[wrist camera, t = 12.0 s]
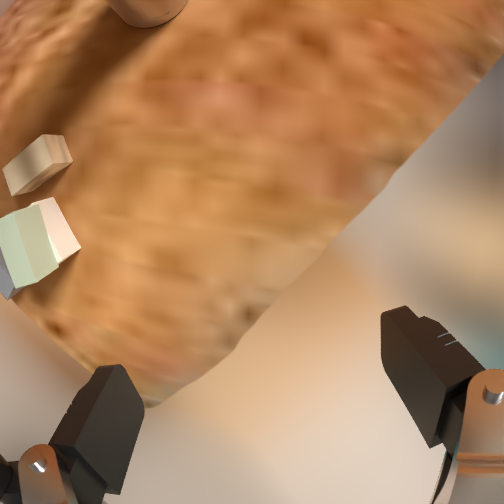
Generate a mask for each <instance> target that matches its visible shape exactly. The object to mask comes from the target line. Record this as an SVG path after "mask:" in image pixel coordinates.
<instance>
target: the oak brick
mask: <svg viewBox="0 0 504 504" xmlns="http://www.w3.org/2000/svg"><path fill="white" fill-rule="evenodd" d="M72 162H73V161H72V158H71V156H70V153H69V150H68V148H67V145H66V142H65V139H64V137H63V135H46V134H42V135H41V136H40V137H38V138H37V139H36V140H35V141H34V142H32V143H31V144H30V145H29V146H28V147H26V148H25V149H24V150H23V151H22V152H21V153H19V154H18V155H17V156H16V157H15V158H14V159H13V160H12V161H11V162H9V163H8V164H7V165H6V166H5V167H4V168H3V172H4V175H5V178H6V181H7V184H8V187H9V190H10V193H11V196H15V195H19V194H23V193H27V192H32V191H34V190H35V189H36V188H38V187H39V186H40V185H42V184H43V183H44V182H46V181H47V180H48V179H50V178H51V177H52V176H54V175H55V174H57V173H58V172H59V171H61V170H62V169H64V168H65V167H66V166H68V165H69V164H71V163H72Z"/></svg>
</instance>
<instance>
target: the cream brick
mask: <svg viewBox="0 0 504 504" xmlns="http://www.w3.org/2000/svg"><path fill="white" fill-rule="evenodd" d="M36 204H39V206H40V210H41V214H42V217H43V220H44V224H45V227H46V230H47V233H48V237H49V240H50V243H51V246H52V249H53V252H54V254H55V257H56V260H57V263H58V264H60V263H61V262H63V261H64V260H66V259H67V258H68V257H70V256H71V255H72V254H74V253H75V252H76V251H78V250H79V249H81V247H80V245H79V243H78V242H77V240H76V238H75V236H74V235H73V233H72V231H71V229H70V227H69V226H68V224H67V222H66V220H65V218H64V216H63V214H62V213H61V211H60V209H59V207H58V205H57V203H56V201H55V199H54V197H51V198H48V199H44V200H40V201H37V202H34V203H32V204H31V205H30V206H33V205H36ZM30 206H28V207H30Z"/></svg>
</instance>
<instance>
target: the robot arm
mask: <svg viewBox="0 0 504 504" xmlns="http://www.w3.org/2000/svg"><path fill="white" fill-rule="evenodd" d="M104 1H105V2H106V3H107V4H108V5H109V6H110V7H111V8H112V9H113V10H114V11H115V12H116V13H117V14H118V15H119V16H120V17H121V18H122V19H123V20H124V22H125V23H127V24H129V25H130V26H133V27H137V28H149V27H154V26H158V25H160V24H163V23H165V22H167V21H169V20H170V19H172V18H173V17H175V16H176V15H177V14H178V13H179V12H180V11H181V10H182V9H183V8H184V6H185V4H186V3H187V0H104ZM381 359H382V363H383V367H384V369H385V372H386V374H387V375H388V377H389V379H390V380H391V382H392V384H393V385H394V387H395V389H396V391H397V392H398V394H399V396H400V397H401V399H402V401H403V402H404V404H405V406H406V407H407V409H408V411H409V413H410V414H411V416H412V418H413V420H414V421H415V423H416V425H417V427H418V428H419V430H420V432H421V434H422V436H423V437H424V439H425V441H426V443H427V445H428V447H429V448H432V447H434V446H436V445H438V444H441V443H443V444H444V446H445V447H446V449H447V450H446V452H445V455H444V459H443V463H442V467H441V470H440V473H439V477H438V480H437V483H436V486H435V489H434V492H433V495H432V499H431V501H430V504H504V370H500V369H489V370H486V369H485V368H484V367H483V366H482V365H481V364H480V363H479V362H478V361H477V360H476V359H475V358H474V357H473V356H472V355H471V354H470V353H469V352H468V351H467V350H466V349H465V348H464V347H463V346H462V345H461V344H460V343H459V342H457V341H456V339H455V338H454V337H453V336H452V335H451V334H449V333H448V331H447V330H446V329H445V328H444V327H443V326H442V325H441V324H440V323H439V322H437V321H434V320H432V319H430V318H428V317H425V316H423V317H420V318H418V317H417V316H416V315H415V314H414V313H413V312H412V311H411V310H410V309H409V308H408V307H407V306H402V307H398V308H395V309H392V310H389V311H385V312H383V313H382V314H381ZM143 418H144V405H143V401H142V399H141V397H140V395H139V394H138V392H137V390H136V388H135V387H134V385H133V383H132V381H131V379H130V377H129V376H128V374H127V372H126V370H125V368H124V367H123V366H122V365H120V364H117V365H107V366H99V367H98V368H97V369H96V371H95V372H94V374H93V375H92V377H91V379H90V380H89V382H88V383H87V384H86V385H85V386H84V387H82V388H81V389H80V390H79V391H78V393H77V394H76V396H75V398H74V399H73V401H72V405H70V406H69V408H68V410H67V413H65V415H64V417H63V418H62V420H61V422H60V424H59V425H58V427H57V429H56V431H55V433H54V434H53V436H52V438H51V440H50V442H49V444H48V445H46V444H39V445H35V446H33V447H31V448H29V449H28V450H27V451H25V453H24V454H23V455H22V456H21V458H20V460H19V461H14V462H13V461H12V462H7V461H6V460H5V459H4V458H3V457H2V456H1V454H0V501H1V502H2V503H3V504H107V503H106V501H105V500H104V499H103V497H104V494H105V493H110V494H117V495H120V493H121V489H122V486H123V482H124V479H125V476H126V472H127V469H128V466H129V462H130V459H131V456H132V452H133V449H134V446H135V443H136V440H137V437H138V433H139V430H140V427H141V424H142V421H143Z"/></svg>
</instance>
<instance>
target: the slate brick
mask: <svg viewBox="0 0 504 504" xmlns="http://www.w3.org/2000/svg"><path fill="white" fill-rule="evenodd" d="M24 288H25V286H23V287H20V288H15V286H14V283H13V281H12V278H11V276H10V273H9V270H8V268H7V265H6V262H5V259H4V256H3V253H2V250H1V247H0V292H1V294H2V295H3V296H4V297H5V299H6V300H9V299H10V298H11V297H13V296H14V295H15V294H17V293H18V292H19V291H21V290H22V289H24Z"/></svg>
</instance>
